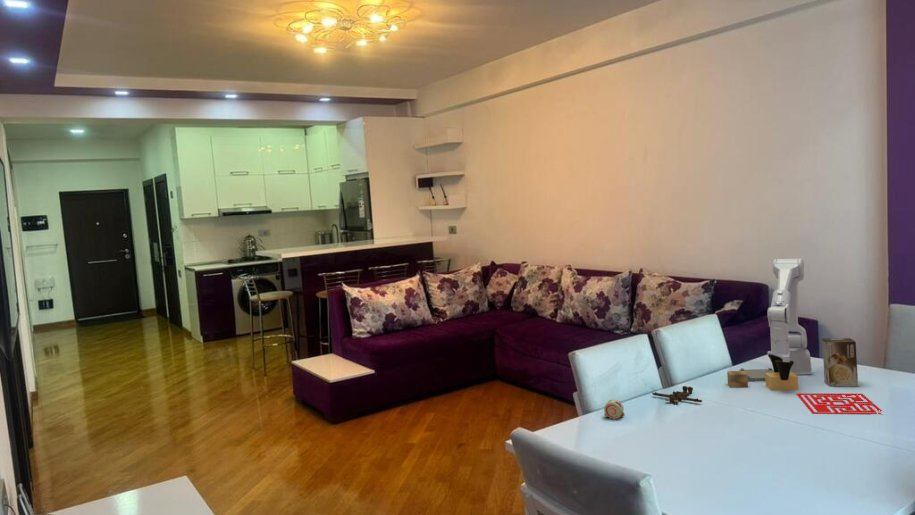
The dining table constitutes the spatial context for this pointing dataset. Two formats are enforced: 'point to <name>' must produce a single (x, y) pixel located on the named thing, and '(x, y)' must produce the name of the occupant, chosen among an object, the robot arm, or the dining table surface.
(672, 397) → the brown crossed rod frame
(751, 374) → the base plate
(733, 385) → the walnut block
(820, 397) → the maze puzzle
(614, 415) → the cinnamon roll
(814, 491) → the dining table surface
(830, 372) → the coffee box
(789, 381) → the brick
